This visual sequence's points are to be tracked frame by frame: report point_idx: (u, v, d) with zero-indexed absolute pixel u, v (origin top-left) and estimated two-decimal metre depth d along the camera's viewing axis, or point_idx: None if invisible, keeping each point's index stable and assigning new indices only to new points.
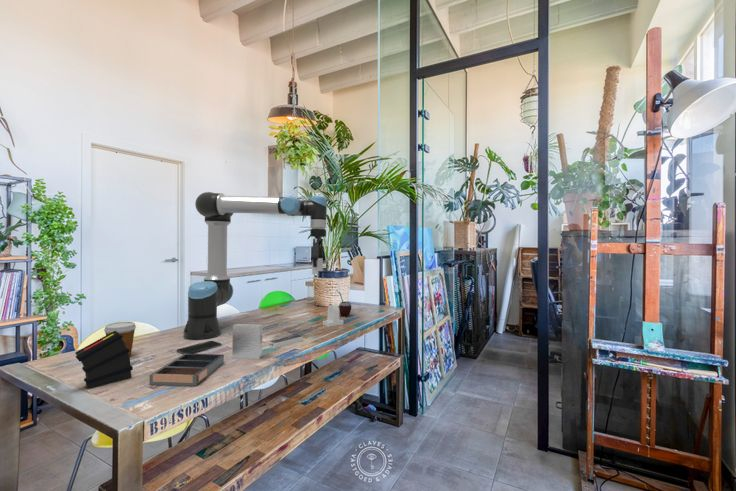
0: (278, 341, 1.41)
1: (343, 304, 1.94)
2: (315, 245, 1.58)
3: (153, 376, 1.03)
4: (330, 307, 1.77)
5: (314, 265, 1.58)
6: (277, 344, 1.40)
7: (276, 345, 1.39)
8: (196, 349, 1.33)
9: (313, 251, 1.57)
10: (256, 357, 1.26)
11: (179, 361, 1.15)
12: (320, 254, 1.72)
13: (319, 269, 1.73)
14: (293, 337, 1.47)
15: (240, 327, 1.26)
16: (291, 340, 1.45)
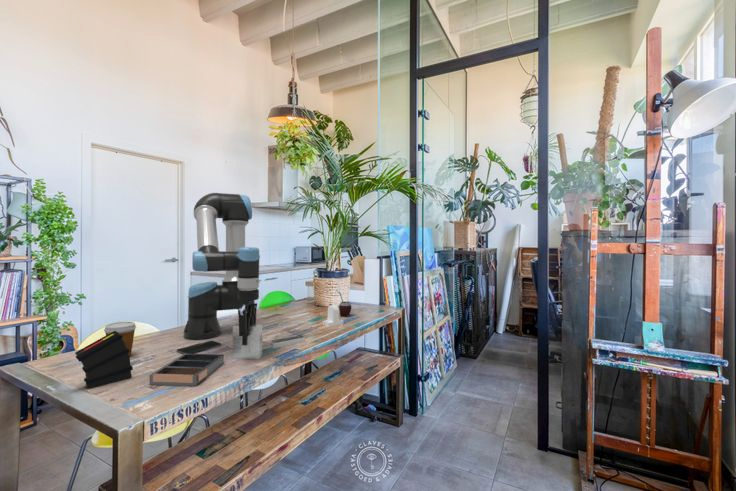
0: (278, 341, 1.41)
1: (343, 304, 1.94)
2: (242, 319, 1.22)
3: (153, 376, 1.03)
4: (330, 307, 1.77)
5: (243, 343, 1.24)
6: (276, 344, 1.40)
7: (275, 345, 1.39)
8: (196, 349, 1.33)
9: (240, 327, 1.22)
10: (256, 357, 1.26)
11: (179, 361, 1.15)
12: None
13: None
14: (295, 338, 1.47)
15: None
16: (292, 341, 1.44)
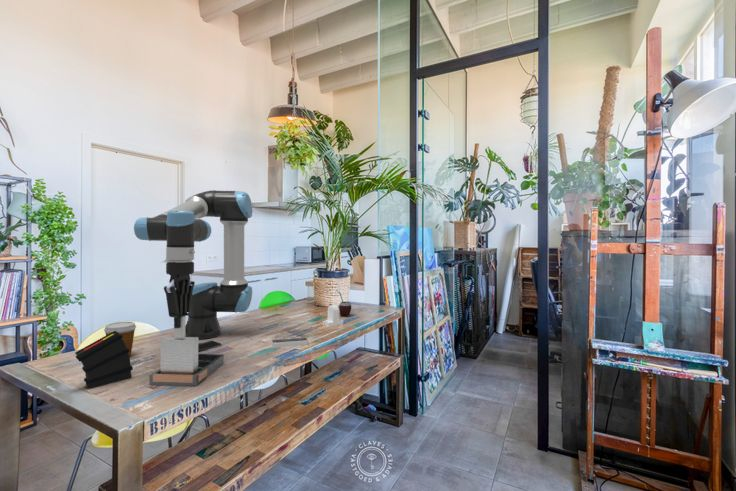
0: (278, 341, 1.41)
1: (343, 304, 1.94)
2: (170, 297, 1.00)
3: (153, 376, 1.03)
4: (330, 307, 1.77)
5: (175, 325, 1.04)
6: (275, 344, 1.39)
7: (274, 345, 1.39)
8: None
9: (169, 307, 1.01)
10: None
11: None
12: None
13: None
14: (297, 340, 1.44)
15: (170, 341, 1.04)
16: (292, 342, 1.42)
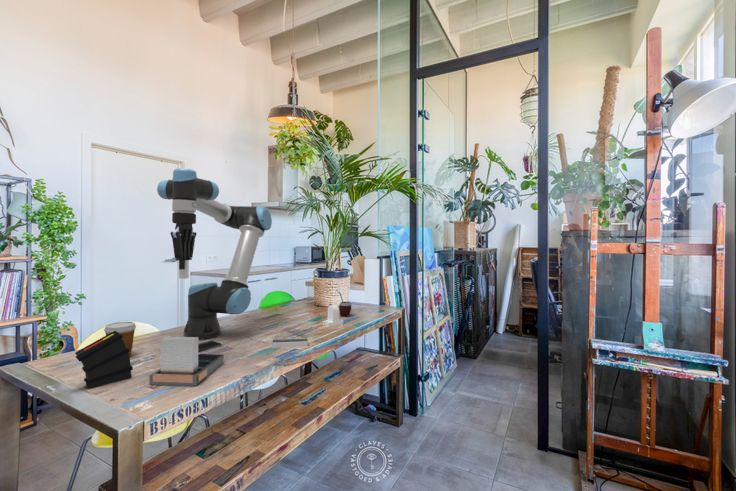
0: (278, 341, 1.41)
1: (343, 304, 1.94)
2: (176, 241, 1.18)
3: (153, 376, 1.03)
4: (330, 307, 1.77)
5: (180, 267, 1.22)
6: (274, 344, 1.40)
7: (273, 345, 1.39)
8: None
9: (175, 250, 1.19)
10: None
11: None
12: None
13: None
14: (297, 340, 1.43)
15: (170, 341, 1.04)
16: (292, 343, 1.41)
